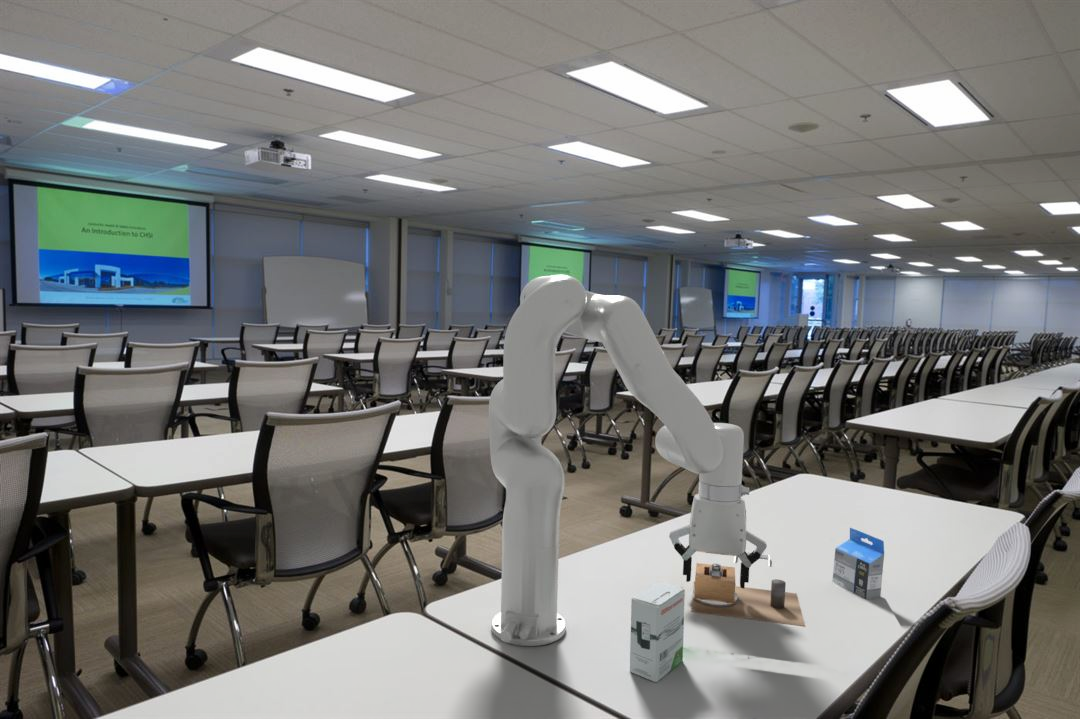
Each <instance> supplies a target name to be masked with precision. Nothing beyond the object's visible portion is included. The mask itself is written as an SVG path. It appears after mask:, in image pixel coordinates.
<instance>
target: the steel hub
mask: <svg viewBox="0 0 1080 719" xmlns="http://www.w3.org/2000/svg"><path fill="white" fill-rule="evenodd" d="M711 565H712V567H711V568H710V569H709V575H710V576H719V577H723V569H721V566H722V565H721V564H720V563H719V564H718V563H712V564H711ZM694 594H695V588H694V589H692V598H694ZM694 600H695V601H697V602H698V603H700V604H703V605H706V606H710V607H716V608H726V607H731V606H734V605H735V604H736V603H737V593H736V592H735V600H734V603H728V602H720V601H712V600H704V599H696V598H694Z"/></svg>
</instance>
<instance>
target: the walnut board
mask: <svg viewBox="0 0 1080 719" xmlns="http://www.w3.org/2000/svg"><path fill="white" fill-rule="evenodd" d="M694 588H695V580H694V581H693V589H694ZM693 589H692V590H693ZM735 592H736V593H737V603H736V604H735V605H734V606H731V607H726V608H716V607H710V606H706V605H703V604H700V603H698V602H697V601H695V600H694V598H693V597H692V599H691V600H692V601H691V608H690V609H691V610H690V611H691V612H692V613H698V614H704V615H706V614H707V615H712V616H713V615H714V616H720V617H721V616H722V617H727V618H728V617H729V618H736V619H744V620H753V621H761V622H766V623H769V622H770V623H776V624H782V625H790V626H799V627H806V624H805V620H804V616H803V613H802V609H801V605H800V601H799V597H798V594H797V592H796V593H795V592H786V581H785V580H782V579H776V578H775V579H774V578H773V579H771V586H770V589H764V588H763V589H762V588H753V587H744V588H741V587H740V586H737V585H735Z"/></svg>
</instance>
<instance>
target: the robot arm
mask: <svg viewBox="0 0 1080 719" xmlns="http://www.w3.org/2000/svg"><path fill="white" fill-rule="evenodd" d="M520 293H521V294H520V296H519V306H518V307H517V309H516V310H515V311H514V313H513V315H512V316H511V319H510V321H509V322H508V326H507V328H506V331H505V335H504V342H503V356H502V357H503V359H502V360H503V363H502V365H503V367H502V369H503V370H502V374H503V375H502V376H503V379H501V380H500V381H499V382H497V384H496V385H494V388H493V389H492V391H491V394H490V397H489V402H488V429H489V430H488V431H489V435H488V436H489V450H490V451H489V452H490V453H489V454H490V463H491V468H492V472H493V474H494V475H495V478H497V480H498V481H499V483H500V484H501V485H502V486H503V487H504V488H505V502H504V508H503V517H502V528H501V529H502V530H501V533H502V534H501V536H502V537H501V542H502V543H501V545H502V546H501V583H500V585H501V589H500V591H501V594H500V595H501V596H500V612H498V613H497V614H496V615H495V616H493V618H492V620H491V626H490V628H491V629H490V630H491V632H492V634H493V635H494V636H495V637H497V638H498V639H499V640H500V641H503V643H508V644H510V645H516V646H521V647H523V646H524V647H538V646H546V645H548V644H552V643H554V642H556V641H559V639H561V638H562V637H563V636H564V634H566V633H565V632H566V631H567V630H566V627H567V626H566V625H567V624H566V623H567V622H566V620H565V619H564V617H562V615H560V614H559V613H558V589H559V588H558V587H559V558H560V557H559V550H560V547H559V546H560V539H559V538H560V521H561V520H560V519H561V508H562V502H563V496H564V492H565V491H564V490H565V482H566V481H565V479H566V478H565V473H564V469H563V467H562V464H561V461H560V460H559V458H558V457H557V456H556V455H555V454H554V452H553V451H551V450H550V449H548V448H547V447H545V446H544V445H543V444H542V437H543V436H545V435H547V434H548V433H549V432H550V430H552V428H553V426H554V424H555V422H556V418H557V394H556V393H557V392H556V391H557V390H556V388H557V387H556V369H555V368H556V351H557V346H558V342H559V341H560V338H561V336H562V335H563V334H564V333H565V334H568V335H571V336H575V337H578V338H582V339H586V340H590V341H593V342H596V343H597V342H598V343H602V345H603V346H604V348H605V350H606V352H607V354H608V356H609V358H610V359H611V361H612V363H613V365H614V367H615V369H616V370H617V373H618V374H619V377H620V378H621V380H622V383H624V386H625V387H626V389H627V390H628V392H629V393H630V394H631V395H632V396H633V397H634V398H635V399H636V400H637V401H639V402H638V403H641V404H642V405H643V406H644V407H646V408H647V409H649V411H650V412H652V413H653V414H654V415H655V416H656V417H657V418H658V419H659V420H660V421H661V423H662V424H663V426H662V427H660V428H659V430H658V431H657V433H656V434H655V440H654V443H655V444H654V445H655V448H656V452H658V454H659V455H660V456H661V457H662V458H663V459H664V460H666V461H667V462H670V463H672V464H673V465H675V466H679V467H681V468H683V469H685V470H687V471H689V472H691V473H695V474H697V475H698V476H699V477H698V478H699V479H698V493H696V494H694V496H693V499H692V500H693V501H692V504H691V509H690V510H691V511H690V520H689V524H687V525H686V526H683V527H681V528H678V529H675V530H672V531H670V532H669V536H668V538H669V539H670V541H671V543H672V545H673V548H674V549H675V551H676V552H677V553H678V554H679V556H680V557H681V558H682V560H683V565H682V566H683V567H682V576H686V580H685V581H686V582H688V583H689V582H691V577H692V560H693V559H692V558H693V557H692V556H693V555H695V553H696V552H697V553H705V554H712V555H721V556H722V555H723V556H732V557H735V556H736V557H737V558H738V559H739V560H740V561H741V562H740V571H739V574H740V575H739V585H740V586H739V587H741V588H744V587H745V584H746V583H747V584H749V582H750V567H752V565H753V564H755V562H757V561H758V560H759V559H761V558H760V556H761V555H762V554H764V552H765V550H767V542H766V541H765V540H763V539H761V538H760V537H758V536H756V535H755V534H753V533H751V532H750V531H748V530H747V507H746V503H745V502H746V501H745V499H744V498H743V496H750V487H746V486H744V485H743V484H742V479H743V462H744V461H743V458H744V442H745V439H744V438H745V437H744V436H745V434H744V430H743V429H742V428H741V427H740V426H739V425H737V424H736V425H735V424H732V423H726V422H714V421H713V420H712V418H711V416H710V414H709V413H708V411H707V409H706V408H705V406H704V405H703V403H702V402H701V401H700V399H699V398H698V397H697V396H696V394H695V393H694V392H693V391H692V389H690V387H689V386H688V385H687V384H686V383H685V381H684V380H683V379H682V377H681V376H680V375H679V374H678V373H677V372H676V371H675V369H673V367H672V365H671V364H670V362H669V360H668V358H667V356H666V354H665V352H664V350H663V349H662V347H661V345H660V343H659V341H658V339H657V337H656V335H655V333H654V331H653V329H652V328H651V325H650V323H649V321H648V319H647V317H646V315H645V313H644V312H643V310H642V308H641V307H640V305H639V304H638V303H637V302H636V300H634V299H632V298H631V297H628V296H625V295H619V294H617V295H613V294H612V295H611V294H610V295H609V294H606V295H605V294H599V293H596V292H592V291H588V290H586V288H585V287H584V284H583V283H582V282H581V281H580V280H578V279H577V278H575V277H573V276H570V275H567V274H551V275H544V276H538V277H535V278H533V279H531V280H530V281H528V282H527V283H526V284H525V285H524V287H523V289H522V291H521V292H520ZM687 535H688V545H687V546H686V547H685V546H684V545H683V544H682V543H681V541H680V539H679V538H682V537H685V536H687ZM747 542H749V543H750V544H753V545H754V546H755V549H754V550H753V551H751V553H750V554H749V555H748V554H747V553H746V552H747V551H746V549H747V548H746V547H747Z"/></svg>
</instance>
